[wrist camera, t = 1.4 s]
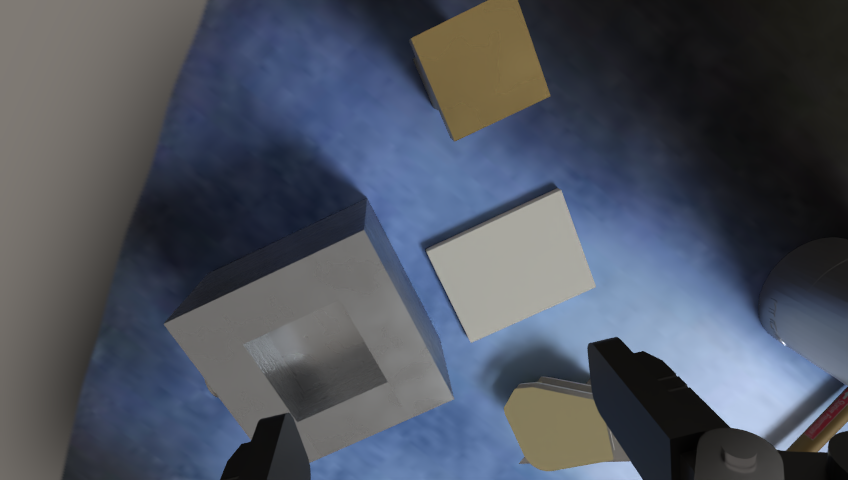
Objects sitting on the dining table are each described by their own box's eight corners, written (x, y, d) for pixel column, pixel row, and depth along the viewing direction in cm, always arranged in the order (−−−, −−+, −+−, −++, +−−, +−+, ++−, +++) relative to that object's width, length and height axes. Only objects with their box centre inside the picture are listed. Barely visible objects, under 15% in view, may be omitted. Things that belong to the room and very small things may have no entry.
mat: (557, 188, 32) (561, 189, 32) (592, 283, 35) (595, 286, 34) (425, 249, 33) (426, 251, 32) (469, 338, 35) (470, 342, 35)
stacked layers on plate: (618, 343, 37) (615, 356, 32) (645, 460, 36) (646, 493, 31) (496, 357, 41) (477, 371, 36) (517, 463, 40) (500, 493, 35)
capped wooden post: (465, 21, 28) (513, -13, 18) (492, 90, 30) (550, 96, 20) (399, 53, 28) (410, 38, 18) (429, 121, 30) (454, 141, 20)
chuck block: (367, 198, 31) (364, 229, 25) (440, 339, 35) (454, 399, 28) (182, 285, 32) (131, 339, 25) (273, 413, 36) (250, 489, 29)
